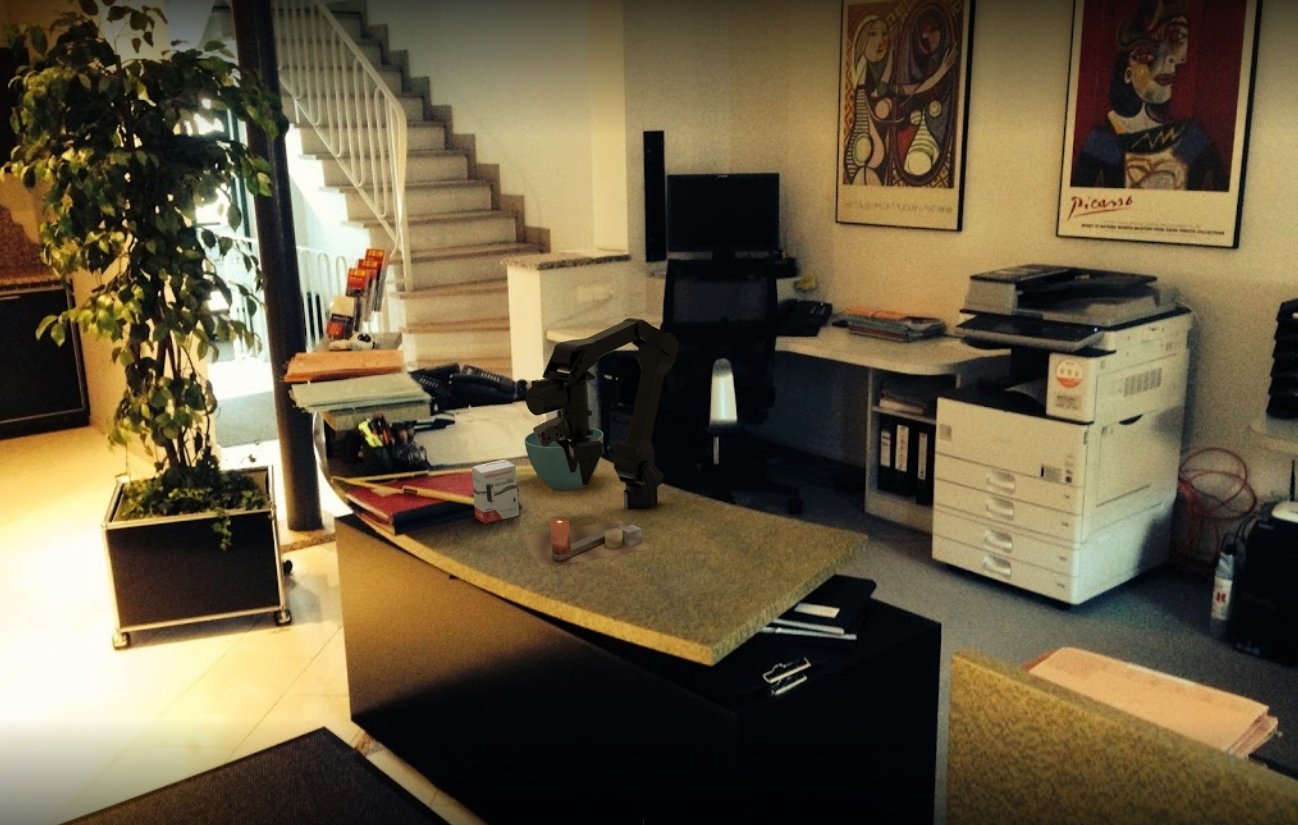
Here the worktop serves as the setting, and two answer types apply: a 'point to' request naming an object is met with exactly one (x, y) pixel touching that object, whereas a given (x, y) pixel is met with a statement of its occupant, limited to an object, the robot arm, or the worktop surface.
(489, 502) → the ink box
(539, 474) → the teal bowl
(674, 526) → the worktop surface
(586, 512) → the worktop surface
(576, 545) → the lever
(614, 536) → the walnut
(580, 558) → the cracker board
